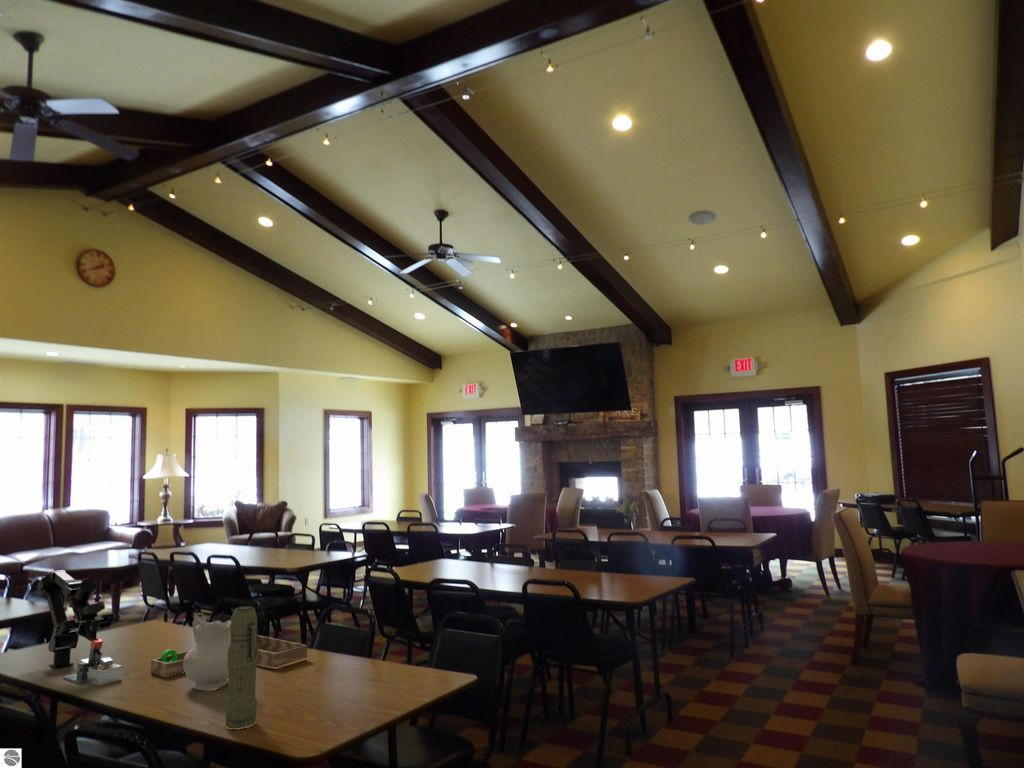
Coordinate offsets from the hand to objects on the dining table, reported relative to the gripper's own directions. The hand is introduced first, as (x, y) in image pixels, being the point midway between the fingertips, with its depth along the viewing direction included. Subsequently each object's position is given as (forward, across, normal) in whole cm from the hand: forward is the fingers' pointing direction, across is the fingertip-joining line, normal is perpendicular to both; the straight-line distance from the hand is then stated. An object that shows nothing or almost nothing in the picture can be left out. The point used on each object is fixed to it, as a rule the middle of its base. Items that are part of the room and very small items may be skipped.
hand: (94, 642), depth 269 cm
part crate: (+23, +23, -4) cm, 33 cm away
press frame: (+8, 0, +10) cm, 13 cm away
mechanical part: (+22, +23, -4) cm, 33 cm away
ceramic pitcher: (+42, +18, -23) cm, 51 cm away
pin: (+13, 0, +1) cm, 13 cm away
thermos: (+73, 0, -54) cm, 91 cm away
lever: (+9, 0, +7) cm, 12 cm away
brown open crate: (+32, +51, -14) cm, 62 cm away
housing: (+15, 0, +3) cm, 15 cm away
